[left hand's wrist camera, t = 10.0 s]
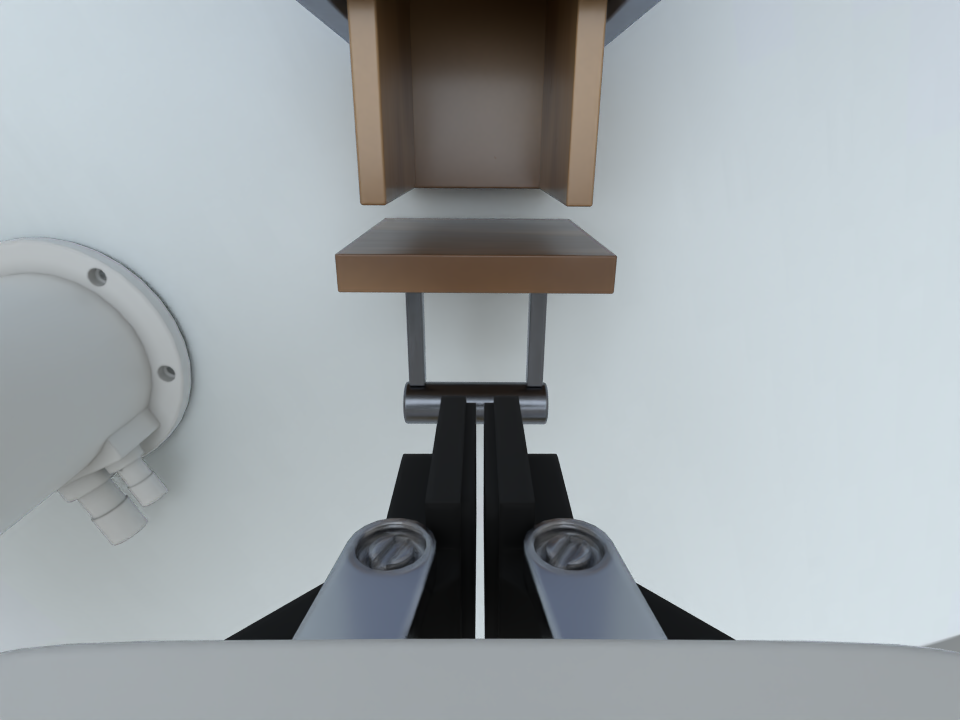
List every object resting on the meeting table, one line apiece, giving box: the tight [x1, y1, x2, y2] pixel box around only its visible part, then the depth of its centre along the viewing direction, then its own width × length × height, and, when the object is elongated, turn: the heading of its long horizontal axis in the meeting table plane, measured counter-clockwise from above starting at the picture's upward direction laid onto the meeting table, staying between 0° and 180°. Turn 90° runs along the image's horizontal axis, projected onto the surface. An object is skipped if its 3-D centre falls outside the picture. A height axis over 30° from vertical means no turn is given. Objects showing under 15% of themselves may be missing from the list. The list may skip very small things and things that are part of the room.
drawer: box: [335, 0, 617, 424], centre depth 20 cm, size 25×9×10 cm, turn 0°
